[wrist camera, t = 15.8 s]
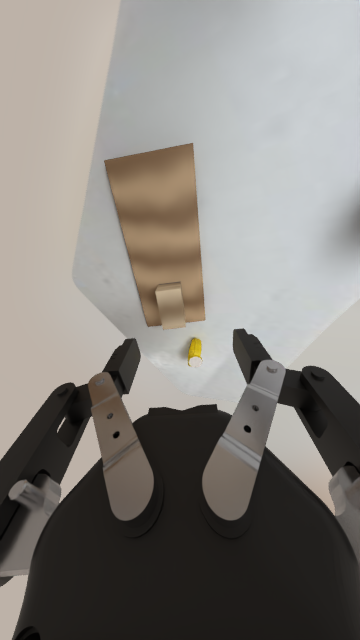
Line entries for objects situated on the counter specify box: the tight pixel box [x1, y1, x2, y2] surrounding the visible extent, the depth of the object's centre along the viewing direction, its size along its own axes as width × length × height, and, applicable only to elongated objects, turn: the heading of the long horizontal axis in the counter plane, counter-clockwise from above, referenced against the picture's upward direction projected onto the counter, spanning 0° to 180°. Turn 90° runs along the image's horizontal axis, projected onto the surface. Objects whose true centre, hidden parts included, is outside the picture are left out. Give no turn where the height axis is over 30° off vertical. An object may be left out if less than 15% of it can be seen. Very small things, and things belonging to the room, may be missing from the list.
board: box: [104, 143, 205, 327], centre depth 28 cm, size 26×12×2 cm, turn 8°
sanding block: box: [155, 281, 186, 330], centre depth 28 cm, size 7×4×4 cm, turn 8°
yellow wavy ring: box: [188, 338, 202, 367], centre depth 35 cm, size 6×3×6 cm, turn 167°
